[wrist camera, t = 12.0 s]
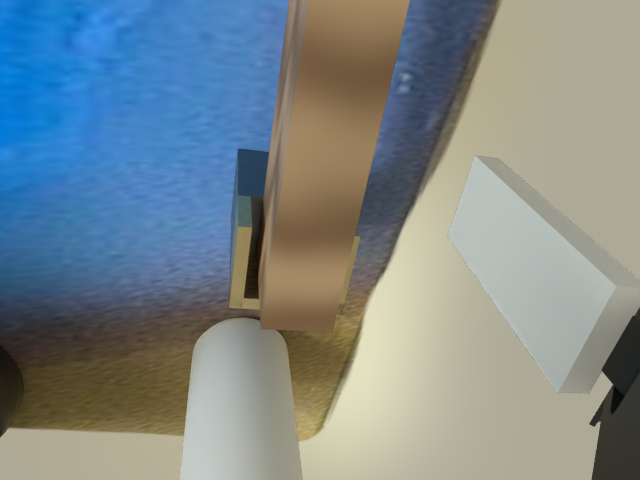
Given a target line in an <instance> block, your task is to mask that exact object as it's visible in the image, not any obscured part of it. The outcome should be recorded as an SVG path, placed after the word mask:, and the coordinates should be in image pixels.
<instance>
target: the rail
mask: <svg viewBox="0 0 640 480" xmlns="http://www.w3.org/2000/svg"><path fill="white" fill-rule="evenodd" d="M409 2H410V0H289V4H288V12H287V20H286V28H285V35H284V43H283V51H282V58H281V66H280V74H279V81H278V89H277V97H276V104H275V112H274V120H273V128H272V135H271V143H270V151H269V158H268V166H267V174H266V181H265V189H264V197H263V204H262V212H261V220H260V228H259V235H258V243H257V251H256V253H257V271H258V288H259V306H260V324H261V329H269V330H291V331H313V332H333V327H334V323H335V319H336V314H337V310H338V306H339V302H340V297H341V293H342V289H343V284H344V280H345V276H346V272H347V267H348V263H349V259H350V255H351V250H352V246H353V242H354V237H355V233H356V229H357V225H358V220H359V216H360V212H361V207H362V203H363V199H364V195H365V190H366V186H367V182H368V177H369V173H370V169H371V165H372V160H373V156H374V152H375V148H376V143H377V139H378V135H379V130H380V126H381V122H382V118H383V113H384V109H385V105H386V100H387V96H388V92H389V88H390V83H391V79H392V75H393V71H394V66H395V62H396V58H397V53H398V49H399V45H400V41H401V36H402V32H403V28H404V23H405V19H406V15H407V11H408V6H409Z"/></svg>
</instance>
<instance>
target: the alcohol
mask: <svg viewBox="0 0 640 480" xmlns="http://www.w3.org/2000/svg"><path fill="white" fill-rule="evenodd" d="M179 480H303V479H302V471H301V462H300V453H299V444H298V436H297V427H296V418H295V410H294V401H293V392H292V384H291V375H290V367H289V358H288V350H287V345H286V342H285V340H284V338H283V337H282V336H281V334H280V333H279V332H278V331H277V330H269V329H261V324H260V320H257V319H254V318H247V317H236V318H230V319H226V320H224V321H221V322H219V323H217V324H215V325H213V326H212V327H211V328H209V329H208V330H207V331H206V332H204V333H203V334H202V335H201V336H200V338H199V339H198V340H197V342H196V344H195V346H194V350H193V355H192V365H191V374H190V384H189V393H188V403H187V412H186V422H185V431H184V441H183V452H182V461H181V470H180V479H179Z"/></svg>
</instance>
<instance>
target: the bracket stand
mask: <svg viewBox="0 0 640 480" xmlns="http://www.w3.org/2000/svg"><path fill="white" fill-rule="evenodd" d="M268 158H269V152H261V151H252V150H243V149H238V153H237V163H236V173H235V183H234V194H233V204H232V214H231V252H230V297H229V308H240V309H259V310H260V306H259V288H258V271H257V253H256V251H257V243H258V235H259V228H260V220H261V212H262V204H263V197H264V189H265V181H266V174H267V166H268ZM359 241H360V234H359V232H358V229H356V233H355V237H354V242H353V246H352V250H351V255H350V259H349V263H348V267H347V272H346V276H345V280H344V284H343V289H342V293H341V297H340V302H339V306H338V310H337V314H342V312H343V308H344V303H345V299H346V295H347V291H348V287H349V283H350V278H351V274H352V270H353V266H354V262H355V257H356V253H357V249H358V245H359Z"/></svg>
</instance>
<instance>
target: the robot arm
mask: <svg viewBox="0 0 640 480" xmlns="http://www.w3.org/2000/svg"><path fill="white" fill-rule="evenodd" d="M448 239H449V240H450V241H451V243H452V244H453V246H454V247H455V248H456V250H457V251H458V252H459V254H460V255H461V257H462V258H463V260H464V261H465V263H466V264H467V265H468V267H469V268H470V270H471V271H472V272H473V274H474V275H475V277H476V278H477V279H478V281H479V282H480V283H481V285H482V287H483V288H484V289H485V291H486V292H487V293H488V295H489V296H490V298H491V299H492V301H493V302H494V303H495V305H496V306H497V308H498V309H499V311H500V312H501V313H502V315H503V316H504V318H505V319H506V320H507V322H508V323H509V325H510V326H511V327H512V329H513V330H514V332H515V333H516V335H517V336H518V337H519V339H520V340H521V342H522V343H523V344H524V346H525V347H526V349H527V350H528V351H529V353H530V354H531V356H532V357H533V358H534V360H535V361H536V363H537V364H538V366H539V367H540V368H541V370H542V371H543V373H544V374H545V375H546V377H547V378H548V380H549V381H550V383H551V384H552V385H553V387H554V388H555V389H556V391H557V392H558V393H585V394H586V393H587V394H589V393H590V391H591V389H592V388H593V386H594V384H595V383H596V381H597V379H598V377H599V376H600V374H601V372H602V371H603V373H604V374H605V375H606V376H607V377H608V379H609V380H610V381H611V382H612V383H613V386H612V387H611V389H610V391H609V392H608V394H607V396H606V397H605V399H604V400H603V402H602V404H601V405H600V407H599V409H598V410H597V412H596V414H595V415H594V417H593V419H592V420H591V422H590V425H592V426H595V425H596V424H597V423H598V422H599V421H601V424H600V430H599V437H598V443H597V449H596V455H595V462H594V468H593V474H592V480H640V279H638V278H637V277H636V276H635V275H634V274H633V273H631V272H630V271H629V270H628V269H627V268H626V267H624V266H623V265H622V264H621V263H620V262H618V261H617V260H616V259H615V258H614V257H612V255H610V254H609V253H608V252H607V251H606V250H605V249H603V248H602V247H601V246H600V245H599V244H598V243H596V242H595V241H594V240H593V239H592V238H591V237H589V236H588V235H587V234H586V233H585V232H584V231H582V230H581V229H580V228H579V227H578V226H577V225H575V224H574V223H573V222H572V221H571V220H569V219H568V218H567V217H566V216H565V215H563V213H561V212H560V211H559V210H558V209H556V208H555V207H554V206H553V205H552V204H551V203H550V202H549V201H547V200H546V199H545V198H544V197H543V196H541V195H540V194H539V193H538V192H537V191H536V190H535V189H533V188H532V187H531V186H530V185H529V184H528V183H526V182H525V181H524V180H523V179H521V177H519V176H518V175H517V174H516V173H515V172H513V171H512V170H511V169H510V168H509V167H508V166H506V165H505V164H504V163H503V162H502V161H501V160H499V159H498V158H491V157H482V156H475V157H474V160H473V162H472V165H471V168H470V171H469V174H468V177H467V180H466V183H465V186H464V189H463V192H462V195H461V197H460V200H459V203H458V206H457V209H456V212H455V215H454V218H453V221H452V224H451V227H450V230H449V233H448ZM22 397H23V382H22V378H21V375H20V373H19V370H18V368H17V367H16V365H15V363H14V362H13V361H12V359H11V358H10V357H9V356H8V355H7V353H6V352H5V351H4V350H2V349H1V348H0V437H1V436H2V435H3V434H4V433H5V432H6V430H7V429H8V427H9V426H10V424H11V423H12V421H13V419H14V417H15V414H16V412H17V410H18V408H19V406H20V403H21V401H22Z"/></svg>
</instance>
